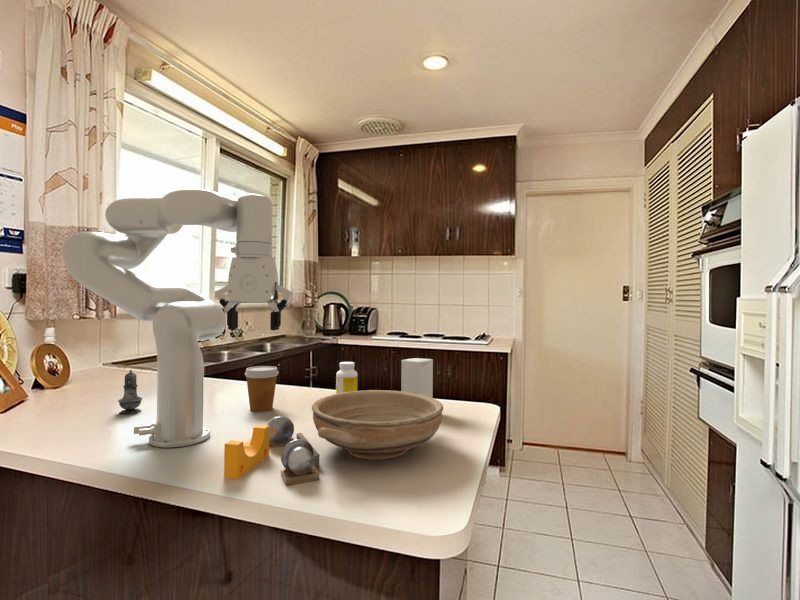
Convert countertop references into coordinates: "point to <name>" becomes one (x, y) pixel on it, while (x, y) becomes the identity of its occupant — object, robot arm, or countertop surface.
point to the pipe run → (293, 452)
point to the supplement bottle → (346, 378)
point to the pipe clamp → (246, 453)
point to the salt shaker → (130, 396)
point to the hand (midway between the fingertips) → (253, 329)
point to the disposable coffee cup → (261, 387)
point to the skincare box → (417, 376)
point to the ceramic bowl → (377, 421)
